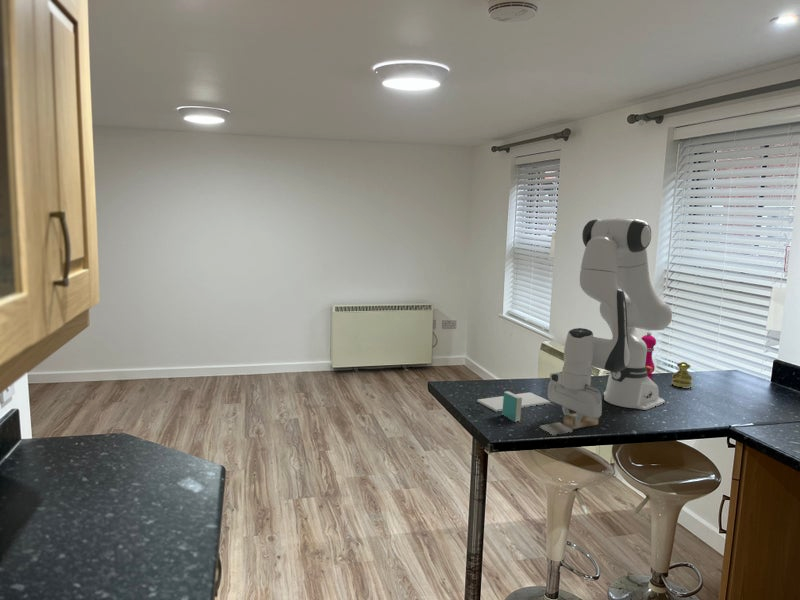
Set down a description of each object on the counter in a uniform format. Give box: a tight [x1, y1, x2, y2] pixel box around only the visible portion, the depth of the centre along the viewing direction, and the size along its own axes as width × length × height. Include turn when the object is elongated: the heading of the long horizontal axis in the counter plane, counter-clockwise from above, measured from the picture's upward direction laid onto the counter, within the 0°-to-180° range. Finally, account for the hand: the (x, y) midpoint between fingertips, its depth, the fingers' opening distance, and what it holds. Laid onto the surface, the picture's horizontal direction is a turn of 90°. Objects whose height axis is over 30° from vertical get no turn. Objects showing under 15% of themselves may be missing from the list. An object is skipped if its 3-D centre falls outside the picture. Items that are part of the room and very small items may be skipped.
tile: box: [501, 390, 522, 423], centre depth 192 cm, size 2×7×8 cm, turn 28°
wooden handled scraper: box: [539, 412, 600, 436], centre depth 187 cm, size 21×6×4 cm, turn 118°
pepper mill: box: [640, 331, 657, 380], centre depth 248 cm, size 7×7×20 cm
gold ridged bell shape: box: [671, 361, 693, 388], centre depth 239 cm, size 7×7×10 cm
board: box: [476, 392, 552, 413], centre depth 208 cm, size 24×11×1 cm, turn 118°
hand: (571, 422), depth 187 cm, fingers closed on wooden handled scraper, 2 cm apart
